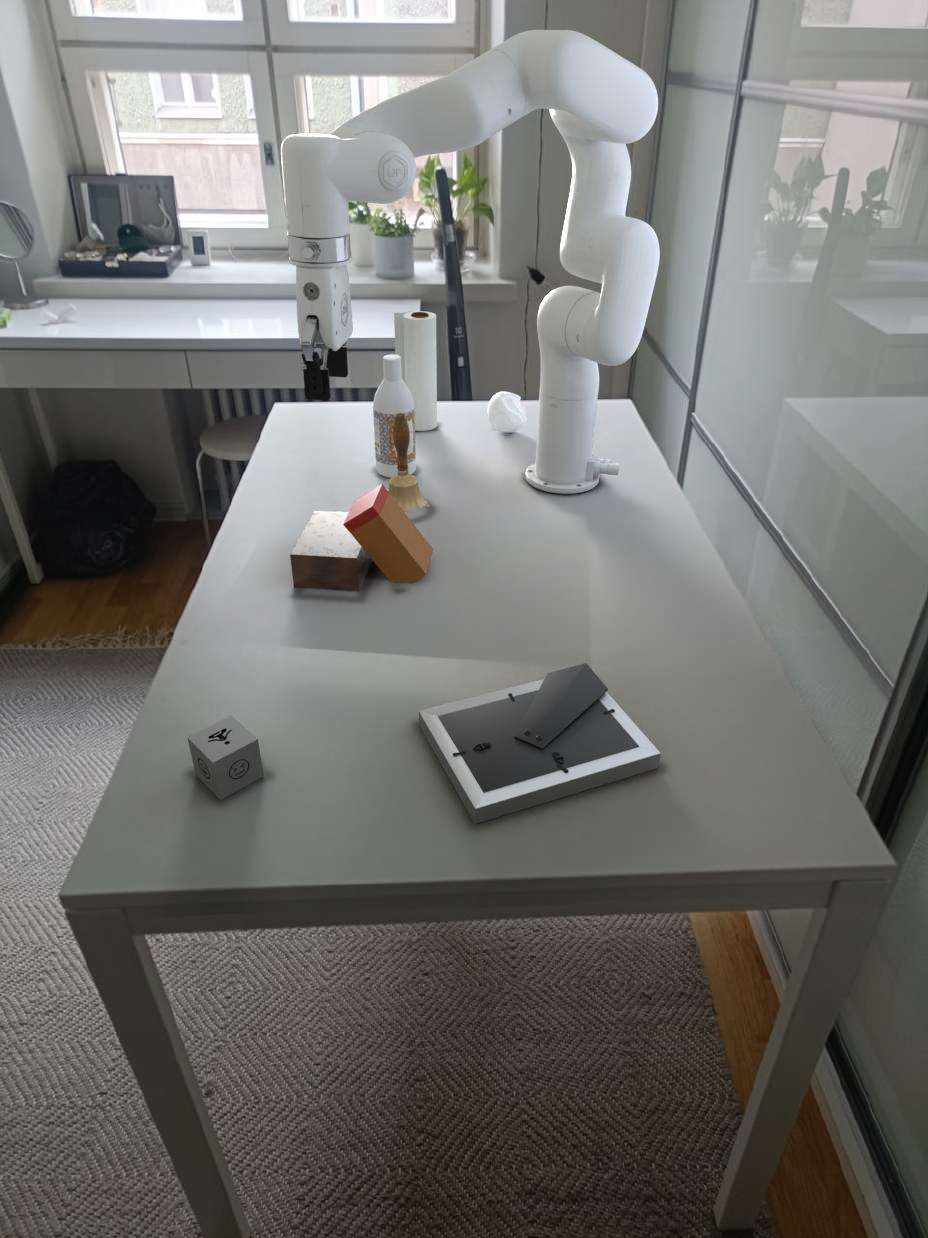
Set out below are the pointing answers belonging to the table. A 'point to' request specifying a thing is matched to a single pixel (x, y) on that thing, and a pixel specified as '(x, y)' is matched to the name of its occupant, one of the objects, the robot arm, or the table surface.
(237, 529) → the table surface
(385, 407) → the bath foam
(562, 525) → the table surface
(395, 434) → the hand bell
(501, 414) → the crumpled paper ball
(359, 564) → the walnut box
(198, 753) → the dice cube
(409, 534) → the container
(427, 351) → the paper towel roll
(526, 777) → the picture frame
